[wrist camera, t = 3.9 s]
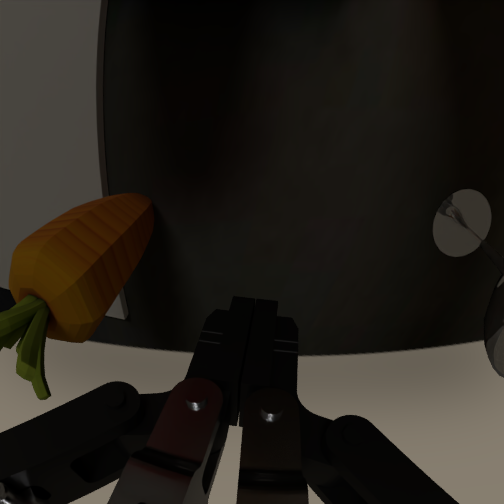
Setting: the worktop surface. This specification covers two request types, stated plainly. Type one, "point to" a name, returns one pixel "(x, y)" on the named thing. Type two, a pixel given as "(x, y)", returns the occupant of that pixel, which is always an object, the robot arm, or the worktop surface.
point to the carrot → (72, 277)
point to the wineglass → (466, 241)
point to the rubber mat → (50, 117)
